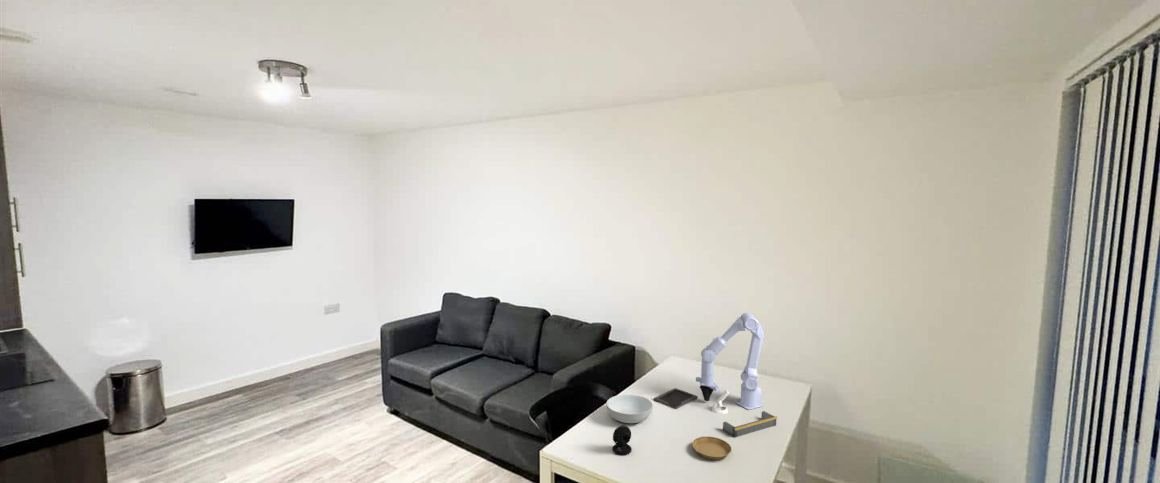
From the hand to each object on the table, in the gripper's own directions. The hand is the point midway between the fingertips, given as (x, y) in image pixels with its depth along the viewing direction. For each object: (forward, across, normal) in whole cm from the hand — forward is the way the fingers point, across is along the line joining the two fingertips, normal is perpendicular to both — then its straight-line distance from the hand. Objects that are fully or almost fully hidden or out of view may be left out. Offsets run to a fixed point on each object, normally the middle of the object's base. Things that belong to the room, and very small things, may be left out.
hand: (706, 400), depth 224 cm
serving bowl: (+1, -3, -42) cm, 42 cm away
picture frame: (+2, -10, -11) cm, 15 cm away
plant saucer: (+2, +35, -28) cm, 45 cm away
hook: (+1, +9, 0) cm, 9 cm away
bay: (+1, +28, 0) cm, 28 cm away
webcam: (+1, +19, -59) cm, 62 cm away
